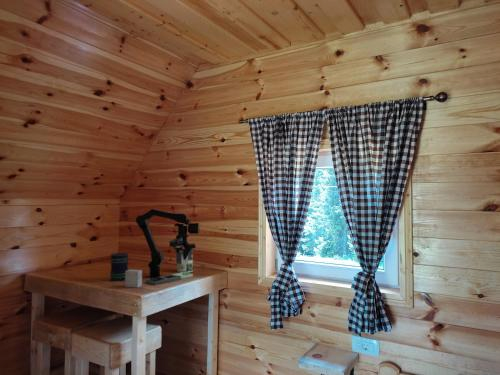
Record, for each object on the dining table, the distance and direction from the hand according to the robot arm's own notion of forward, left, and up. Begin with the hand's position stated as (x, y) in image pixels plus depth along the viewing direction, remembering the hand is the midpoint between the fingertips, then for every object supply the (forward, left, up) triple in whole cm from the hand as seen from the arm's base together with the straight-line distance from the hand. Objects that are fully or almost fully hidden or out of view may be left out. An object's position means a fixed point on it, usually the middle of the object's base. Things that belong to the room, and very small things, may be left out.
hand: (182, 259), depth 225 cm
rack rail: (+2, -15, -11) cm, 19 cm away
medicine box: (0, -33, -11) cm, 35 cm away
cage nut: (0, 0, -2) cm, 2 cm away
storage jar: (-21, -30, -11) cm, 38 cm away
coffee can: (-12, +12, -11) cm, 20 cm away
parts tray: (0, 0, -11) cm, 11 cm away
